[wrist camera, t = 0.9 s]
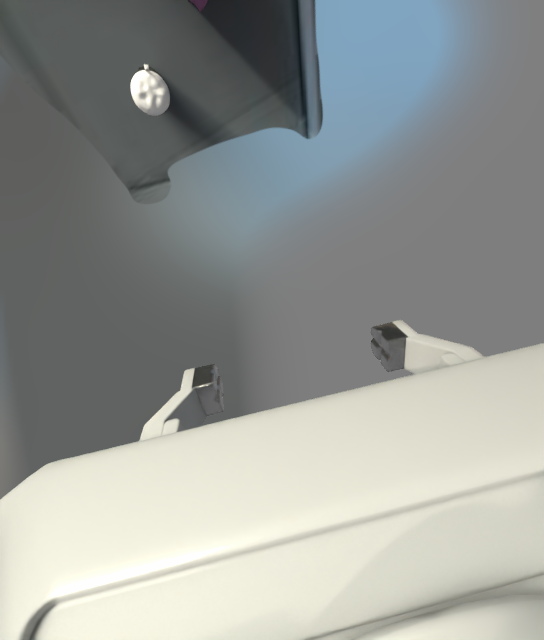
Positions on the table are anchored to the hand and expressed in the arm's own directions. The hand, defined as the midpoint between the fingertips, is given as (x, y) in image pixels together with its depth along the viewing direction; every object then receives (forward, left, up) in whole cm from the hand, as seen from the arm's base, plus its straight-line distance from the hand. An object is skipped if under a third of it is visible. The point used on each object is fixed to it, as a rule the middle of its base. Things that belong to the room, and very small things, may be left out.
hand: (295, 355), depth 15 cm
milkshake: (-6, -1, -49) cm, 49 cm away
